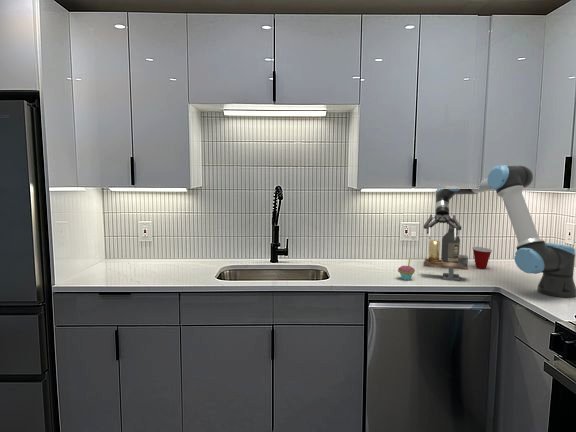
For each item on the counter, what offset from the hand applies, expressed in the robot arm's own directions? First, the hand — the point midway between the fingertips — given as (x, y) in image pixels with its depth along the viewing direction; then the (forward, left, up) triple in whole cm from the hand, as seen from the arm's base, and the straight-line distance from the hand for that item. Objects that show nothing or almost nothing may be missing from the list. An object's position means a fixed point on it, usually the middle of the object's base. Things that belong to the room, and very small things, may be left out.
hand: (442, 238), depth 216 cm
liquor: (+7, -25, -20) cm, 33 cm away
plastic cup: (-10, -30, -20) cm, 37 cm away
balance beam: (-7, +9, -14) cm, 18 cm away
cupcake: (+5, +27, -20) cm, 34 cm away
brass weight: (-1, +11, -12) cm, 17 cm away
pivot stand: (-10, +7, -20) cm, 23 cm away
